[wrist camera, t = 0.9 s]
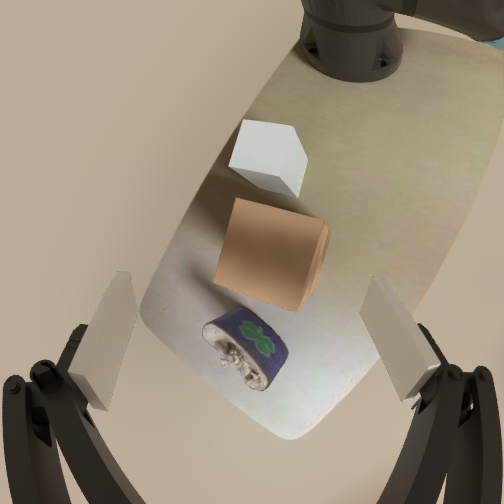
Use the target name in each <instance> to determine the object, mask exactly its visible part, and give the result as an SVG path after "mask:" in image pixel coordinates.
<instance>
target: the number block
mask: <svg viewBox="0 0 504 504" xmlns="http://www.w3.org/2000/svg"><path fill="white" fill-rule="evenodd" d="M307 162H308V159H307V157H306V154H305V152H304V150H303V147H302V145H301V143H300V141H299V138H298V136H297V134H296V132H295V130H294V127H293V126H288V125H282V124H275V123H268V122H261V121H253V120H244V119H243V122H242V125H241V128H240V131H239V134H238V137H237V140H236V144H235V147H234V150H233V153H232V156H231V160H230V163H229V167H230V168H232V169H233V170H234V171H236V172H237V173H239V174H240V175H242V176H243V177H244V178H246V179H247V180H249V181H250V182H251V183H253V184H254V185H255V186H257V187H258V188H260V189H263V190H267V191H272V192H276V193H280V194H284V195H288V196H292V197H296V198H298V196H299V192H300V188H301V185H302V181H303V177H304V173H305V170H306V166H307Z"/></svg>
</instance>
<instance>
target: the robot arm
mask: <svg viewBox="0 0 504 504" xmlns="http://www.w3.org/2000/svg"><path fill="white" fill-rule="evenodd" d="M301 2H302V5H303V8H304V11H305V13H304V18H303V22H302V27H301V32H300V42H301V45H302V49H303V52H304V55H305V57H306V58H307V60H308V61H309V62H310V63H311V64H312V65H313V66H314V67H315V68H316V69H318V70H319V71H321V72H322V73H324V74H326V75H328V76H330V77H333V78H336V79H339V80H343V81H349V82H361V83H362V82H373V81H378V80H381V79H384V78H386V77H388V76H390V75H391V74H392V73H394V72H395V71H396V70H397V68H398V67H399V65H400V63H401V59H402V53H403V44H402V40H401V37H400V33H399V31H398V28H397V25H396V22H395V19H394V12H395V13H399V14H403V15H407V16H411V17H415V18H418V19H422V20H425V21H428V22H432V23H435V24H438V25H441V26H443V27H446V28H449V29H452V30H455V31H457V32H460V33H462V34H465V35H467V36H469V37H470V38H471V39H473V40H475V41H477V42H481V43H484V44H488V45H490V46H492V47H494V48H497V49H499V50H504V0H301ZM138 313H139V310H138V305H137V301H136V297H135V292H134V288H133V283H132V278H131V273H130V272H121V271H117V273H116V274H115V276H114V278H113V280H112V282H111V283H110V285H109V287H108V289H107V291H106V292H105V294H104V296H103V298H102V300H101V302H100V304H99V306H98V308H97V310H96V311H95V313H94V316H93V317H92V319H91V321H90V323H89V325H85V324H80V325H79V326H78V327H77V328H76V329H75V330H73V332H72V334H71V336H70V338H69V341H68V342H67V344H66V348H64V350H63V352H62V354H61V357H60V359H59V361H58V363H57V365H56V366H55V364H54V363H53V362H52V361H50V360H41V361H39V362H37V363H35V364H34V366H33V367H32V368H31V371H30V379H31V380H32V381H33V382H25V380H24V379H23V378H22V377H21V376H19V375H13V376H10V377H9V378H8V379H7V380H6V382H5V383H4V386H3V403H2V406H3V407H2V418H3V419H2V421H3V442H4V454H5V462H6V470H7V476H8V483H9V488H10V493H11V498H12V502H13V504H71V501H70V497H69V494H68V491H67V487H66V484H65V480H64V476H63V472H62V468H61V464H60V459H59V454H58V449H57V444H56V440H57V442H58V444H59V447H60V449H61V451H62V454H63V456H64V457H65V460H66V462H67V464H68V466H69V468H70V470H71V472H72V474H73V476H74V478H75V480H76V482H77V484H78V486H79V487H80V489H81V491H82V492H83V494H84V496H85V498H86V499H87V501H88V503H89V504H146V503H145V502H144V500H143V499H142V498H141V496H140V495H139V494H138V493H137V491H136V490H135V488H134V487H133V486H132V484H131V483H130V481H129V480H128V479H127V477H126V476H125V474H124V473H123V471H122V470H121V468H120V467H119V465H118V464H117V462H116V460H115V459H114V457H113V456H112V454H111V452H110V451H109V449H108V447H107V446H106V444H105V442H104V440H103V439H102V437H101V435H100V433H99V431H98V429H97V428H96V426H95V424H94V422H93V420H92V418H91V416H90V414H89V412H88V410H87V409H86V408H87V404H88V402H89V403H90V405H91V406H92V407H93V408H95V409H100V410H104V411H108V410H109V406H110V402H111V398H112V395H113V391H114V388H115V384H116V381H117V377H118V374H119V371H120V367H121V364H122V361H123V358H124V354H125V351H126V348H127V345H128V342H129V339H130V336H131V333H132V330H133V327H134V324H135V322H136V319H137V316H138ZM360 315H361V317H362V319H363V321H364V323H365V325H366V327H367V329H368V331H369V333H370V335H371V337H372V339H373V341H374V343H375V346H376V348H377V350H378V352H379V354H380V356H381V358H382V360H383V362H384V365H385V367H386V369H387V371H388V373H389V376H390V378H391V380H392V382H393V384H394V387H395V389H396V391H397V394H398V396H399V398H400V401H401V402H403V401H406V400H410V399H413V398H414V397H415V396H416V395H417V393H418V392H420V394H421V397H420V398H419V399H418V401H417V402H416V403H415V404H414V405H413V406H412V408H411V409H414V408H415V407H416V406H417V407H416V410H415V413H414V417H413V420H412V423H411V426H410V429H409V431H408V434H407V437H406V440H405V442H404V445H403V448H402V450H401V453H400V455H399V458H398V460H397V462H396V465H395V467H394V469H393V472H392V474H391V476H390V478H389V480H388V482H387V484H386V487H385V488H384V491H383V493H382V494H381V496H380V498H379V500H378V502H377V504H436V502H437V500H438V497H439V494H440V491H441V489H442V485H443V483H444V480H445V476H446V473H447V478H446V487H445V494H444V502H443V504H501V496H502V477H503V458H502V439H501V427H500V419H499V410H498V405H497V398H496V392H495V387H494V382H493V377H492V374H491V372H490V371H489V370H488V369H487V368H486V367H484V366H478V367H476V369H475V370H474V371H473V372H463V371H462V370H461V369H460V368H459V367H458V366H456V365H454V364H449V363H448V362H447V360H446V358H445V357H444V355H443V354H442V352H441V350H440V349H439V347H438V346H437V344H436V343H435V341H434V339H433V338H432V336H431V334H430V333H429V331H428V330H427V329H426V328H425V327H424V326H423V325H421V324H420V323H419V324H416V322H415V321H414V319H413V317H412V316H411V314H410V313H409V311H408V310H407V308H406V307H405V306H404V304H403V303H402V301H401V300H400V298H399V297H398V295H397V294H396V293H395V291H394V290H393V288H392V287H391V286H390V284H389V283H388V281H387V280H386V279H385V277H384V276H373V277H372V280H371V283H370V286H369V289H368V291H367V294H366V297H365V300H364V302H363V305H362V308H361V310H360ZM472 403H473V409H472V410H471V404H472ZM55 437H56V438H55Z"/></svg>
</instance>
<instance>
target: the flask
mask: <svg viewBox="0 0 504 504" xmlns="http://www.w3.org/2000/svg"><path fill="white" fill-rule="evenodd" d="M202 336H203V338H204V339H205V340H206V341H207V342H208V343H209V344H210V345H212V346H213V347H214V348H215V349H217V350H218V351H219V352H220V353H221V354H222V355H223V356H224V357H225V359H221V360H220V362H221V364H222V367H223V368H225V363H228V364H229V366H230V367H231V366H233V367H235V368H236V370H237V371H238V372H239V373H240V374H241V376H242V378H243V379H244V381H245V383H246V384H247V385H248V386H249V387H250V388H252V389H253V390H258V391H264V390H265V389H266V388H268V387H269V385H270V384H271V382H272V381H273V379H274V378H275V376H276V375H277V373H278V372H279V370H280V368H281V367H282V366H283V364H284V363H285V361H286V359H287V357H288V354H289V351H288V349H287V347H286V345H285V343H284V342H283V341H282V340H281V338H280V337H279V336H278V335H277V333H276V332H275V331H274V330H273V329H272V328H271V327H270V326H268V325H267V324H266V323H265V322H264V321H263V320H262V319H260V318H259V317H258V316H257V315H256V314H254V313H253V312H252V311H251V310H248V309H247V308H243V307H238V308H236V309H234V310H232V311H230V312H229V313H227V314H225V315H222V316H221V317H219V318H217V319H215V320H213V321H211V322H208V323H206V324H205V325H204V326H203V330H202Z"/></svg>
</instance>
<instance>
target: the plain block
mask: <svg viewBox="0 0 504 504" xmlns="http://www.w3.org/2000/svg"><path fill="white" fill-rule="evenodd" d="M330 235H331V232H330V230H329V229H328V227H327V225H326V224H325V222H324V221H323V220H320V219H316V218H313V217H309V216H306V215H302V214H298V213H295V212H291V211H287V210H283V209H279V208H276V207H272V206H268V205H264V204H260V203H256V202H252V201H248V200H244V199H240V198H236V200H235V203H234V207H233V210H232V214H231V217H230V221H229V225H228V228H227V232H226V235H225V239H224V243H223V246H222V250H221V254H220V257H219V261H218V265H217V269H216V272H215V276H214V280H213V283H215V284H218V285H221V286H223V287H226V288H229V289H231V290H234V291H237V292H239V293H242V294H245V295H247V296H250V297H253V298H256V299H258V300H261V301H264V302H267V303H270V304H273V305H275V306H278V307H281V308H284V309H287V310H290V311H293V312H296V311H297V310H298V309H299V308H300V307H301V305H302V304H303V303H304V302H305V300H306V299H307V298H308V297H309V295H310V294H311V293H312V292H313V290H314V288H315V285H316V282H317V279H318V276H319V273H320V269H321V266H322V263H323V259H324V256H325V253H326V249H327V246H328V242H329V239H330Z"/></svg>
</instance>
